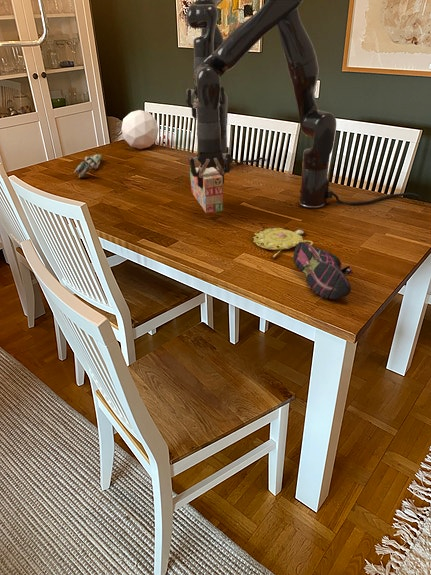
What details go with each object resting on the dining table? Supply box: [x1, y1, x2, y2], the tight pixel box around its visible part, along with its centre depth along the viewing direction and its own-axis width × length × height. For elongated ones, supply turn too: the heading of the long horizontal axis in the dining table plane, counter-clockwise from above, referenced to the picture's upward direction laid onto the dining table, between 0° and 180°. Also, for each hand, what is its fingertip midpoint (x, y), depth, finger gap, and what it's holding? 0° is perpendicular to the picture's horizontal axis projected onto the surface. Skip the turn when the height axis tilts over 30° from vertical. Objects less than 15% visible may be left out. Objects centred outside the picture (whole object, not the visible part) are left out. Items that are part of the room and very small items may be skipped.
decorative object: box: [252, 227, 314, 259], centre depth 140 cm, size 21×2×20 cm
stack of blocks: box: [189, 166, 224, 214], centre depth 156 cm, size 21×6×12 cm, turn 17°
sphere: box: [121, 109, 159, 150], centre depth 235 cm, size 19×20×20 cm
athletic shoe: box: [292, 242, 354, 300], centre depth 118 cm, size 11×22×12 cm
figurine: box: [73, 154, 103, 179], centre depth 208 cm, size 7×8×30 cm
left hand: (206, 117), depth 168 cm, fingers open, 8 cm apart
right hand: (211, 186), depth 149 cm, fingers closed on stack of blocks, 6 cm apart
